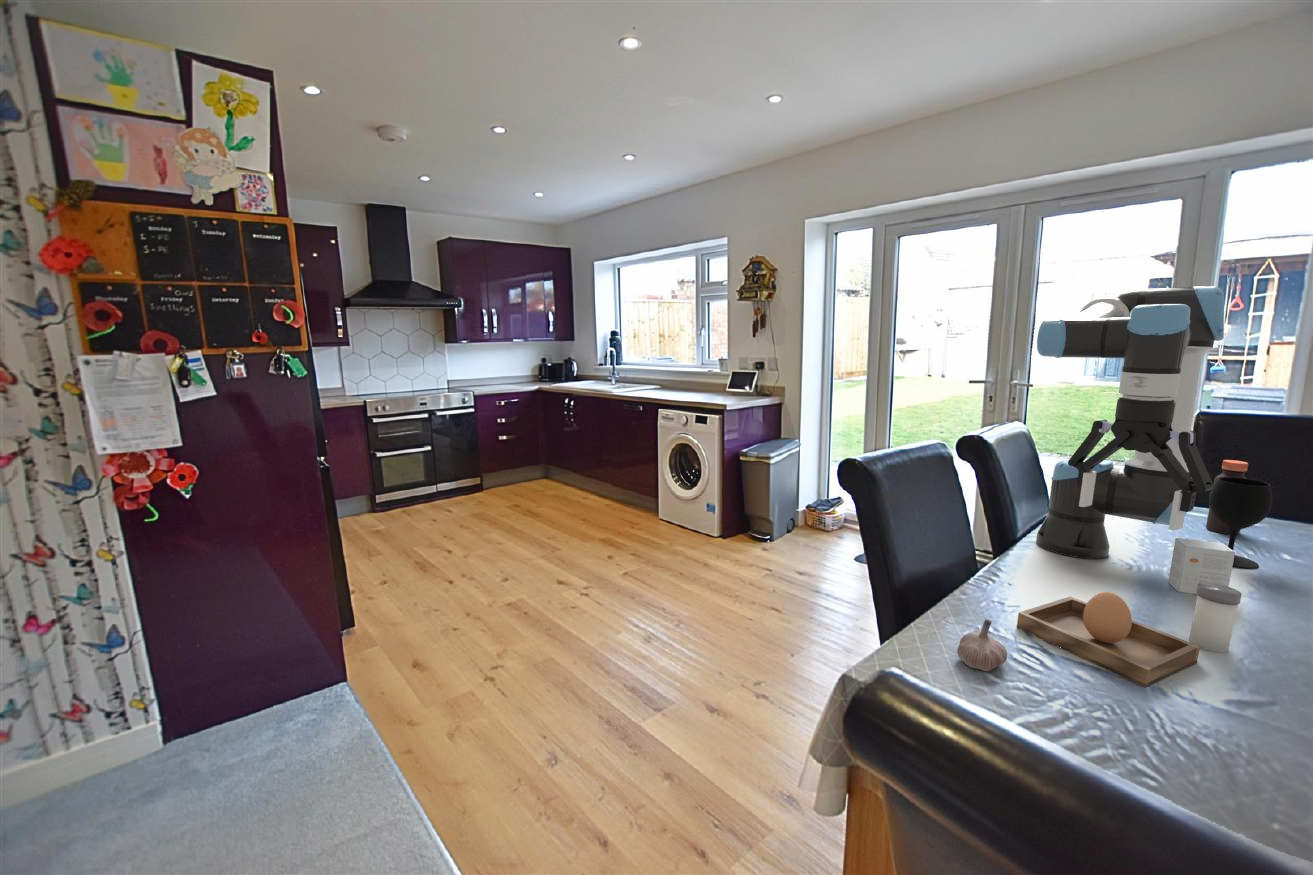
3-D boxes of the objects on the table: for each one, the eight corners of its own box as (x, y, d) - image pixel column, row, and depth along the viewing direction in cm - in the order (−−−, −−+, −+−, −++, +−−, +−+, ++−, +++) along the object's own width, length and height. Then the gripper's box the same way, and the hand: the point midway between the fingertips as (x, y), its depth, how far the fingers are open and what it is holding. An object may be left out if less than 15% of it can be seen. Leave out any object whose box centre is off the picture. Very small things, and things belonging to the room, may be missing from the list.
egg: (1137, 649, 96) (1146, 600, 94) (1105, 653, 95) (1113, 603, 93) (1101, 629, 102) (1108, 583, 101) (1070, 633, 101) (1077, 586, 100)
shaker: (1181, 640, 100) (1191, 585, 98) (1196, 634, 102) (1206, 580, 100) (1221, 656, 95) (1232, 598, 93) (1236, 649, 97) (1247, 592, 95)
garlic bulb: (998, 654, 96) (1003, 611, 94) (1015, 679, 89) (1021, 633, 87) (950, 649, 97) (954, 606, 96) (963, 673, 90) (968, 627, 89)
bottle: (1199, 526, 161) (1211, 458, 157) (1225, 527, 160) (1238, 459, 156) (1218, 534, 154) (1232, 464, 151) (1246, 535, 153) (1260, 464, 150)
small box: (1214, 588, 121) (1223, 542, 119) (1227, 599, 116) (1236, 551, 114) (1166, 581, 124) (1174, 536, 122) (1177, 592, 119) (1185, 545, 117)
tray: (1016, 627, 104) (1018, 612, 104) (1068, 610, 111) (1070, 596, 110) (1144, 687, 87) (1147, 669, 86) (1197, 662, 93) (1200, 646, 93)
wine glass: (1211, 565, 133) (1227, 484, 130) (1190, 550, 143) (1204, 474, 139) (1269, 572, 129) (1287, 489, 126) (1243, 556, 139) (1259, 478, 135)
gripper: (1055, 391, 104) (1041, 500, 108) (1234, 408, 82) (1208, 544, 86) (1079, 389, 107) (1065, 494, 112) (1258, 404, 85) (1232, 535, 89)
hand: (1127, 516), depth 99 cm, fingers open, 13 cm apart
